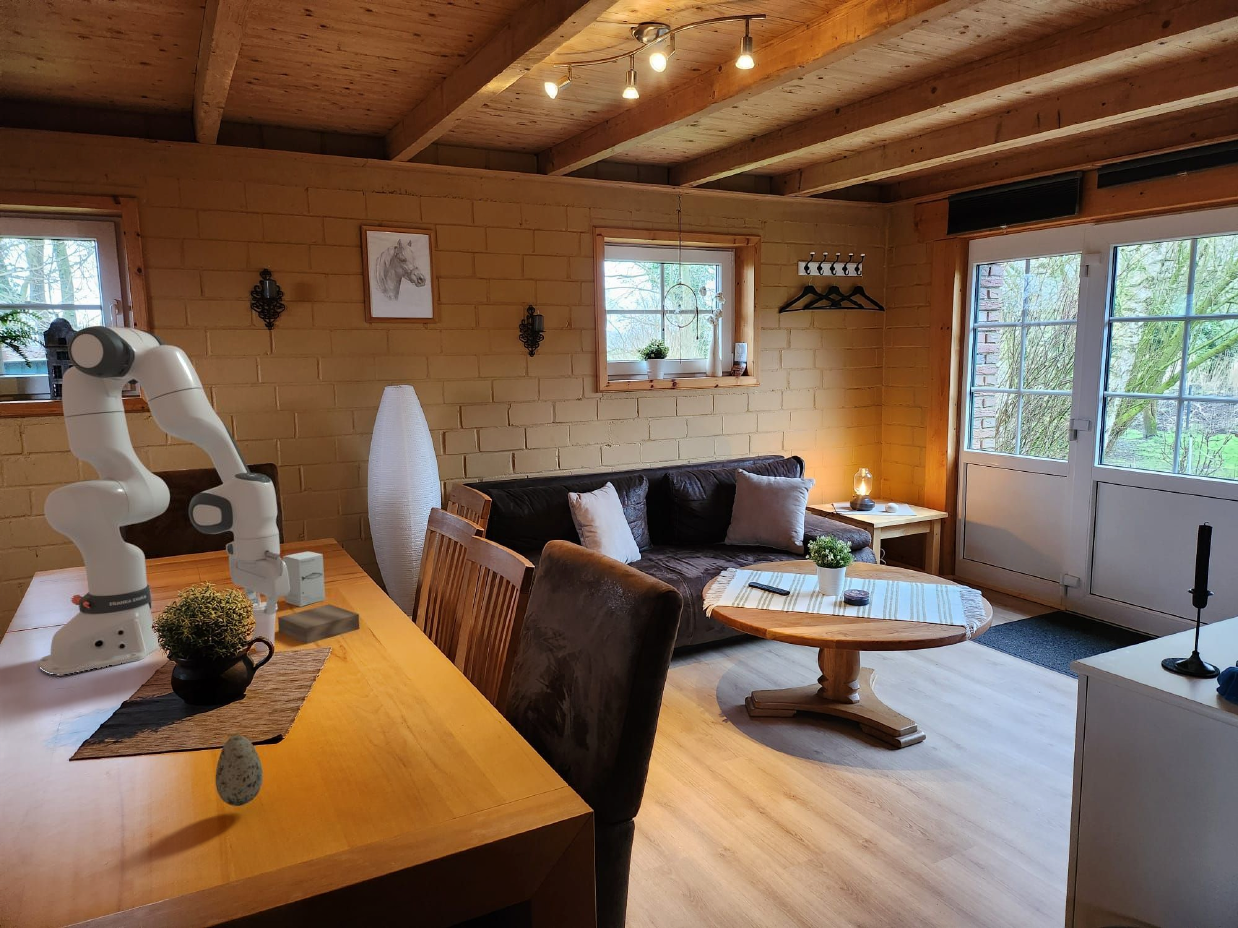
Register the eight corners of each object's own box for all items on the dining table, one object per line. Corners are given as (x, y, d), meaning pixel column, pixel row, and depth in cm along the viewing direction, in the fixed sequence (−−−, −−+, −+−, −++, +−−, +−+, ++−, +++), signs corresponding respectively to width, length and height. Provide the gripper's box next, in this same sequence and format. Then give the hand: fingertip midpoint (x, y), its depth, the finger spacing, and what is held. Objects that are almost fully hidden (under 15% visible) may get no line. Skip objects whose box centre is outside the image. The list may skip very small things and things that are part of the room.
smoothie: (242, 650, 174) (237, 588, 173) (267, 641, 180) (262, 581, 178) (262, 655, 171) (257, 591, 170) (286, 646, 177) (282, 584, 175)
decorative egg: (271, 791, 116) (266, 725, 115) (253, 814, 110) (248, 744, 109) (229, 792, 116) (224, 726, 114) (209, 815, 110) (204, 746, 108)
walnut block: (307, 645, 178) (306, 628, 178) (279, 633, 187) (277, 617, 186) (359, 630, 188) (358, 614, 188) (330, 620, 197) (329, 604, 196)
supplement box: (300, 607, 206) (297, 559, 204) (284, 602, 210) (281, 555, 209) (326, 600, 212) (323, 553, 210) (310, 596, 216) (307, 550, 215)
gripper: (295, 551, 169) (299, 615, 170) (250, 539, 182) (254, 598, 184) (265, 557, 164) (270, 623, 166) (222, 544, 177) (226, 605, 179)
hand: (261, 610), depth 175 cm, fingers closed on smoothie, 6 cm apart
